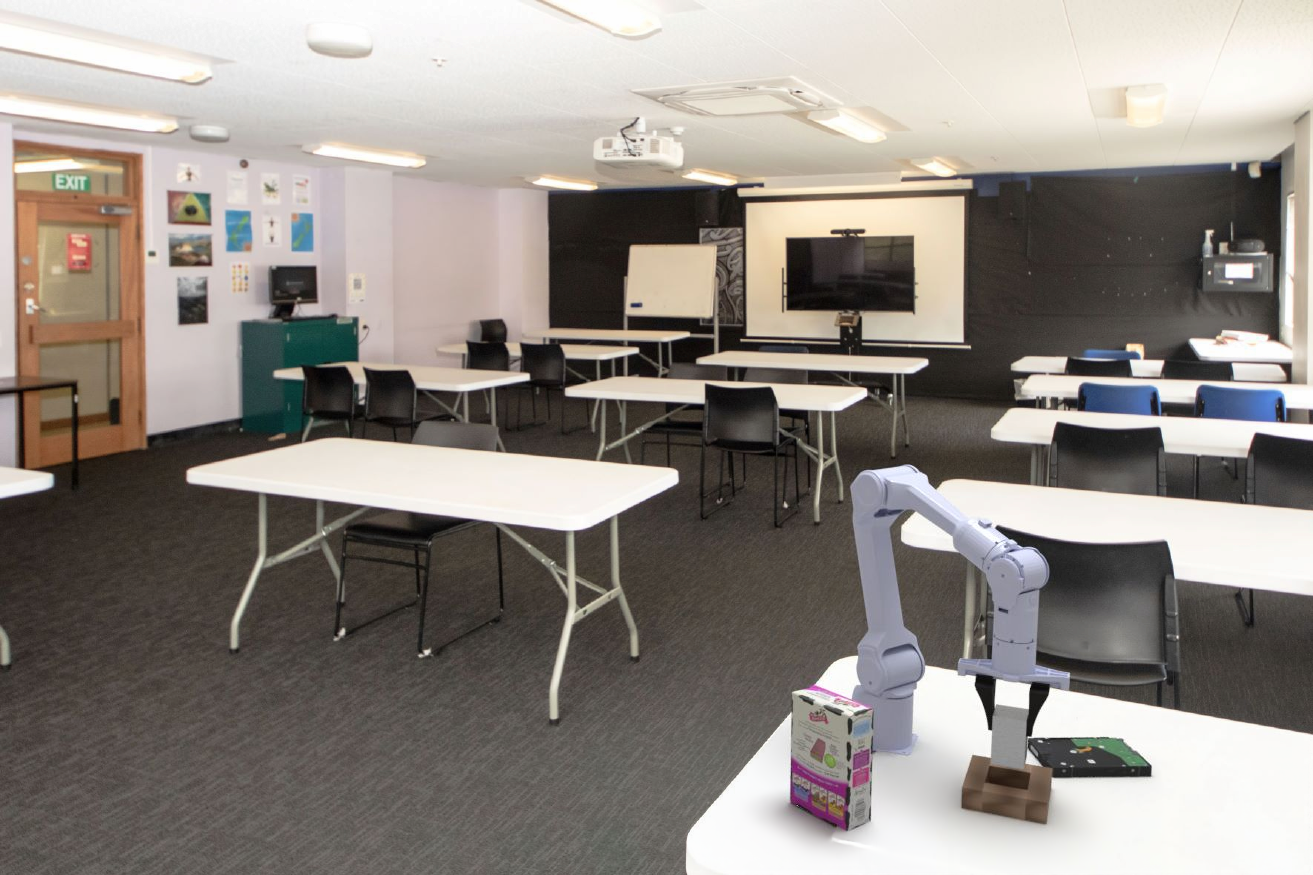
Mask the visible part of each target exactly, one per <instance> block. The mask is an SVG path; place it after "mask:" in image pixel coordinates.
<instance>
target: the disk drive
mask: <svg viewBox="0 0 1313 875" xmlns="http://www.w3.org/2000/svg"><path fill="white" fill-rule="evenodd" d="M1027 750H1029V752H1030V753H1031V755H1032V756H1034V757H1035V759H1036V761H1038V763H1040V766H1042V767H1048V768H1052V779H1053V778H1056V779H1057V778H1060V779H1063V778H1064V779H1065V778H1122V777H1123V778H1124V777H1125V778H1138V777H1139V778H1140V777H1144V778H1146V777H1147V778H1148V777H1152V773H1153V771H1152V769H1153V766H1152V764H1151V763H1149V762H1148V761H1147V760H1146V759H1145V758H1144V757H1143V756H1142V754H1141V753H1139V752H1138V751H1137V750H1134V749H1133V748H1132V747H1131V746H1130V745H1129V744H1128V743H1127V742H1125V738H1124V739H1123V738H1121V737H1120V738H1118V737H1109V736H1099V737H1098V736H1095V737H1093V736H1090V737H1088V736H1086V737H1085V736H1080V737H1077V736H1076V737H1072V736H1071V737H1068V736H1067V737H1065V736H1064V737H1028V742H1027Z"/></svg>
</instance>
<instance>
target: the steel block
mask: <svg viewBox="0 0 1313 875" xmlns="http://www.w3.org/2000/svg"><path fill="white" fill-rule="evenodd" d="M1028 715H1029V708H1023V707H1017V706H1010V705H1003V704H996V703H995V710H994V713H993V721H992V731H991V742H990V743H991V747H990V748H991V749H990V758H991V764H994V765H999V766H1005V767H1011V768H1017V769H1023V770H1024V768H1025V764H1027V763H1026V762H1027V759H1028V738H1029V737H1028V736H1026V732H1027V722H1028Z"/></svg>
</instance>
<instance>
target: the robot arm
mask: <svg viewBox="0 0 1313 875" xmlns="http://www.w3.org/2000/svg"><path fill="white" fill-rule="evenodd" d="M928 478H929V477H928V475H927V474H925V473H923V472H921V471H919V469H918V468H917V467H915V466H913V465H911V464H903V465H900V466H894V467H888V468H887V467H885V468H881V469H880V468H879V469H874V470H872V469H866V470H863V471H861V472H860V473H859V474H858V475H857V476H856V478H855V479H854V480H853V482H851V484H850V486H849V488H850V489H849V490H850V494H851V501H852V509H853V511H852V526H853V532H854V539H855V546H856V553H857V559H858V567H859V574H860V579H861V580H860V582H861V588H862V595H863V601H864V607H865V615H866V621H867V628H868V630H867V632H866V633H865V635H864V636H863V638H862V639H861V640H860V642H859V643H858V645H857V647H856V648H857V655H858V656H857V662H856V666H855V667H856V668H855V669H856V675H857V679H858V681H859V684H856V685H855V686H854V688H853V691H852V695H851V699H852V700H854V701H857V702H859V703H862V704H864V705H867V706H869V707H872V708H874V718H873V752H877V751H879V752H885V753H889V754H896V755H902V756H910V755H911V754H912V751H913V749H914V748H915V747H914V746H915V745H916V742H917V741H918V738H919V734H916V733H913V728H914V727H913V726H914V725H913V723H914V721H913V720H914V693H915V690H917V688H918V682H920V681H921V680H922V679H923V678H924V675H925V673H926V662H925V659H924V656H923V654H922V652H921V650H920V647H919V644H918V639H917V638H918V637H917V636H916V635H915V634H914V633H913V632H911V631H910V630H909V629H907V628H906V627H905V625H904V618H903V612H902V604H901V598H900V594H899V593H900V592H899V586H898V577H897V572H896V565H895V558H894V551H893V545H892V537H891V532H890V528H891V526H892V525H893V524H894V522H895V521H896V520H897V518H898V517H899V516H900V515H901V514H902V513H904V512H906V511H907V510H913V511H914V512H916V513H918V514H919V515H921V516H922V517H923V518H925V519H926V520H928V521H929V522H930V523H932V524H934V525H935V526H936V527H937V528H939V529H941V530H942V531H944V533H946V534H948V535H949V536H951V538H952V545H953V547H954V549H955V551H957V552H958V553H960V555H962V556H963V557H964V558H966V559H967V560H968V561H969V562H970V563H971V564H972V565H974V566H976V567H977V568H978V569H979V570H980V571H982V572H983V573H984V574H985V578H986V581H987V584H988V586H989V587H990V589H991V601H993V605H994V606H993V625H992V626H993V628H992V647H991V659H983V658H964V657H963V658H962V657H960V658H959V660H958V662H957V676H959V677H965V676H966V677H967V676H973V677H975V681H974V688H975V691H976V692H977V694H978V697H979V698H980V701H981V704H982V706H983V710H984V713H985V717H986V721H987V722H986V723H987V730H988V731H990V732H992V721H993V713H994V710H995V707H996V702H995V701H996V688H997V680H1000V681H1004V682H1008V683H1021V684H1028V685H1029V684H1030V687H1029V689H1028V709H1029V715H1028V722H1027V732H1026V736H1028V738H1033V734H1034V733H1033V730H1034V726H1035V723H1036V721H1037V717H1038V715H1039V714H1040V712H1041V709H1042V707H1044V704H1045V702H1046V701H1047V699H1048V697H1049V695H1050V689H1051V688H1057V689H1060V691H1065V692H1069V691H1070V682H1071V680H1070V678H1071V673H1070V672H1066V671H1061V670H1056V669H1052V668H1048V667H1044V666H1041V665H1037V664H1036V663H1037V662H1036V660H1037V644H1038V643H1037V642H1038V641H1037V639H1038V624H1039V621H1038V620H1039V604H1040V589H1041V588H1043V587H1044V586H1045V585H1046V584H1047V583H1048V582H1049V581H1048V580H1049V577H1050V566H1049V563H1048V562H1047V559H1046V558H1045V556H1044V555H1043V554H1042V553H1040V551H1039V549H1037V548H1035V547H1032V546H1025V547H1023V546H1021V545H1018V542H1016V541H1015V540H1014V539H1009V538H1008V537H1007V536H1005V535H1004V534H1003V533H1001V532H1000V531H999V530H997V529H996V528H995V527H994V526H993V522H992V521H991V520H990V519H988V518H982V517H977V516H974V517H970V518H969V517H967V516H966V515H965V514H964V513H962V512H961V511H960V510H959V509H958V508H957V507H956V506H955V505H953V503H952V502H951V501H949V500H948V499H947V498H946V497H945V496H944V495H942V493H940V492H939V491H938V490H937V489H935V487H933V486H932V484H930V483H929V479H928Z"/></svg>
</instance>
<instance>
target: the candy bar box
mask: <svg viewBox="0 0 1313 875" xmlns="http://www.w3.org/2000/svg"><path fill="white" fill-rule="evenodd" d="M873 718H874V708H872V707H869V706H867V705H864V704H862V703H859V702H857V701H854V700H852V698H849V697H847V696H844V695H842V694H839V693H836V692H833V691H831V690H828V689H826V688H823V687H821V686H819V685H817V684H814V685H810V686H808V687H804V688H801V689H798V690H795V691H792V692H791V718H790V719H791V720H790V721H791V725H790V732H791V734H790V775H789V776H790V777H789V778H790V782H789V783H790V784H789V786H790V787H789V788H790V789H789V791H790V792H789V802H790V801H791V802H792V803H794V804H795V805H794V804H793V805H794V806H796V805H798V806H799V807H801V808H803V809H804V810H803V809H802V810H803V811H805V810H806V811H805V812H807V811H808V812H807V813H809V814H811V815H813V816H814V815H815V816H814V817H816V816H817V818H818V817H819V819H820V820H823V821H824V822H826V823H827V824H829V825H830V826H831V825H832V826H833V827H835V828H837V826H838V827H839V828H840V829H842V830H845V831H847V832H849V831H851V830H854V829H856V828H858V827H860V826H863V825H865V824H867V823H869V822H872V821H871V820H872V790H873V789H872V784H873V782H872V780H873V755H874V754H873V752H874V751H873ZM791 802H790V803H791ZM792 803H791V804H792ZM798 806H797V807H798ZM799 807H798V808H799ZM801 808H800V809H801Z"/></svg>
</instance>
